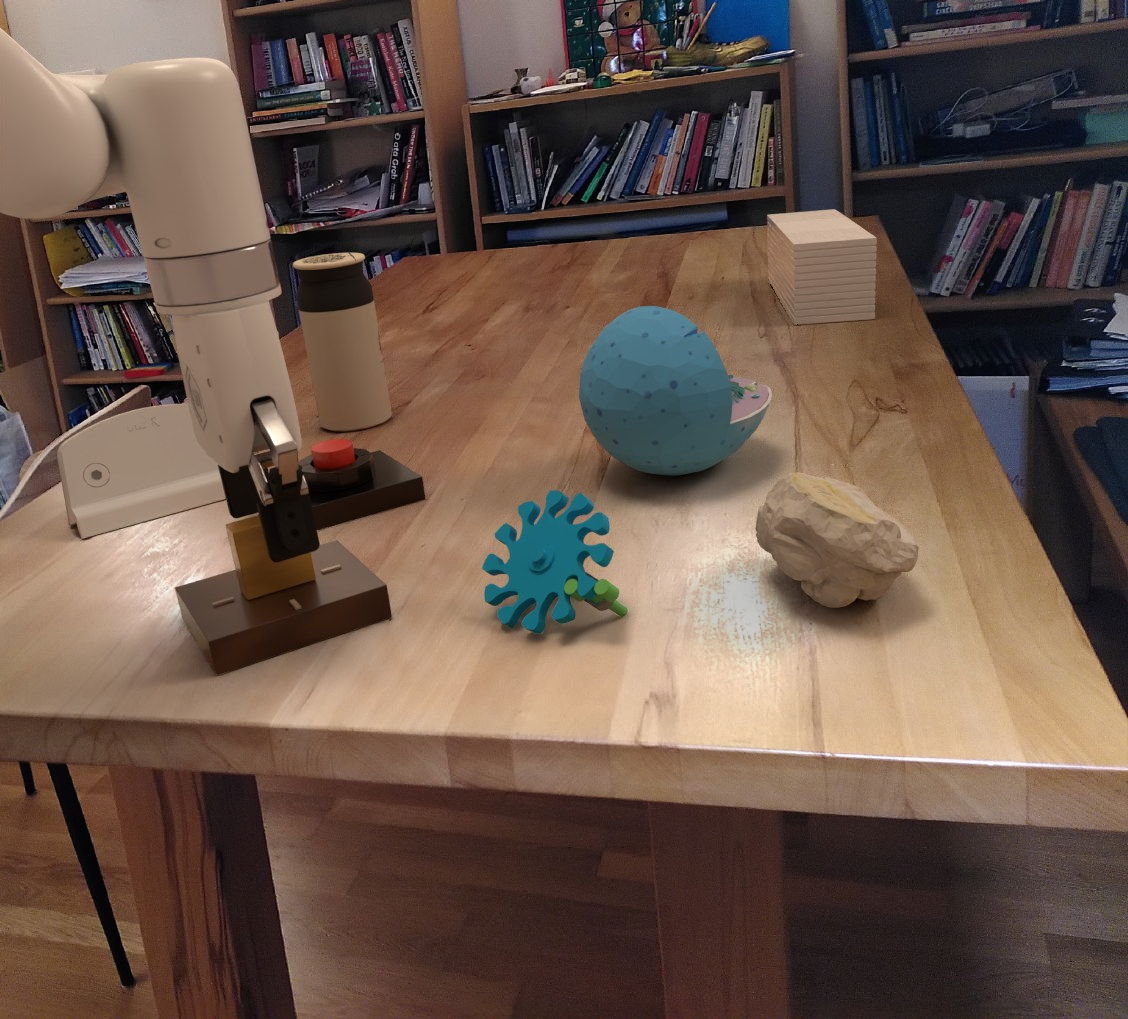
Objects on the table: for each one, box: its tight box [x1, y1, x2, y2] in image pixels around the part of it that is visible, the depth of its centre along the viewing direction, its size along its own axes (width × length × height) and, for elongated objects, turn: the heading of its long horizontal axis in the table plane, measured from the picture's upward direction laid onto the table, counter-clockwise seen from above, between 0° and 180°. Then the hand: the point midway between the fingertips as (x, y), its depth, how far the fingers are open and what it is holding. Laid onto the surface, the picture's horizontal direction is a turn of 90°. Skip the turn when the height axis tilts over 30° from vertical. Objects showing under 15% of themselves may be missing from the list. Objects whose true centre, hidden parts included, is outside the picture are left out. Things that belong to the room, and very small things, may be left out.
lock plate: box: [174, 539, 393, 676], centre depth 72 cm, size 12×10×3 cm
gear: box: [481, 489, 629, 635], centre depth 70 cm, size 11×6×10 cm
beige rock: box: [755, 471, 920, 609], centre depth 68 cm, size 12×8×10 cm
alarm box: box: [298, 447, 427, 531], centre depth 92 cm, size 12×10×4 cm
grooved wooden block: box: [766, 208, 878, 326], centre depth 153 cm, size 32×11×11 cm, turn 176°
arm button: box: [310, 438, 356, 469], centre depth 91 cm, size 4×4×2 cm
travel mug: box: [292, 252, 393, 433], centre depth 113 cm, size 8×8×18 cm
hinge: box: [56, 403, 226, 540], centre depth 95 cm, size 17×5×10 cm, turn 124°
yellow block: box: [224, 514, 316, 600], centre depth 71 cm, size 5×2×5 cm, turn 121°
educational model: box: [578, 305, 773, 477], centre depth 91 cm, size 16×19×15 cm
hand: (273, 532), depth 70 cm, fingers open, 9 cm apart
